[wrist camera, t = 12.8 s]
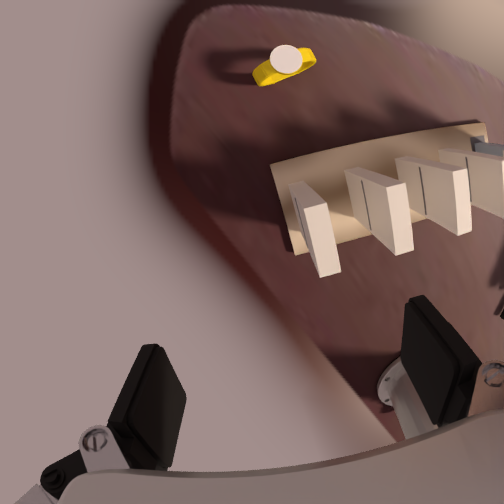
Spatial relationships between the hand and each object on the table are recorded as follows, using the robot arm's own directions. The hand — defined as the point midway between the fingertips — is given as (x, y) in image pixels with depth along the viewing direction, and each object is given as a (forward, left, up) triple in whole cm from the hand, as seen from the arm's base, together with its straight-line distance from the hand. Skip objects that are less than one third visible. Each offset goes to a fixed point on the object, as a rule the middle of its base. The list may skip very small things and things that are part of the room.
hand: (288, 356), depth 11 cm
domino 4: (0, -21, -22) cm, 31 cm away
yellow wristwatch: (+14, -5, -23) cm, 27 cm away
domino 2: (0, -9, -22) cm, 24 cm away
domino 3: (0, -15, -22) cm, 27 cm away
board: (0, -15, -23) cm, 27 cm away
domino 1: (0, -3, -22) cm, 22 cm away
